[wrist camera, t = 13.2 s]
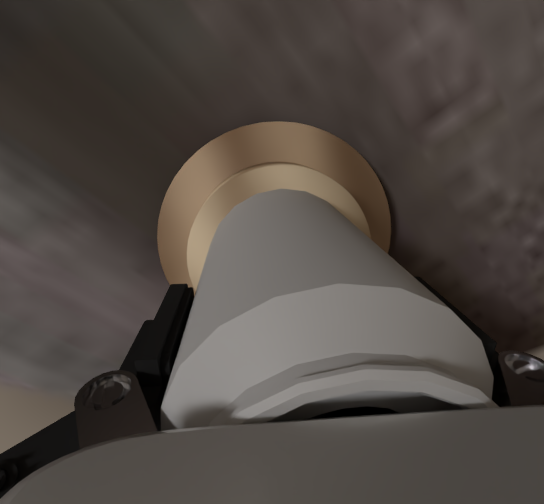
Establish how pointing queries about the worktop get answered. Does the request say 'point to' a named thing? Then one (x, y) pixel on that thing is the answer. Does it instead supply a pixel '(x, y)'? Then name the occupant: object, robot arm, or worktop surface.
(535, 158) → the worktop surface
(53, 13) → the worktop surface
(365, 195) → the plinth
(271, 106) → the worktop surface
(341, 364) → the can
